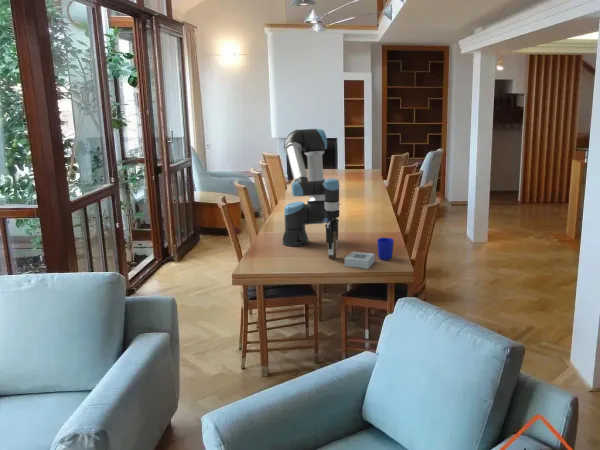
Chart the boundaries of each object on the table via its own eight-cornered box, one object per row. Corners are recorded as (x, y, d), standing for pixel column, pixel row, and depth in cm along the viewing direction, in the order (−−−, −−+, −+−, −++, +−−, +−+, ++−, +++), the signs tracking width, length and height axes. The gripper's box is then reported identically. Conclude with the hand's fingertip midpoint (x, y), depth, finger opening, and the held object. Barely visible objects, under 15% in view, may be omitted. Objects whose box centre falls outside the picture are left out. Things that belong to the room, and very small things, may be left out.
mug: (389, 253, 273) (390, 235, 270) (394, 260, 261) (395, 241, 259) (374, 254, 273) (374, 236, 270) (378, 261, 261) (378, 242, 258)
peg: (327, 258, 267) (327, 232, 263) (330, 256, 270) (329, 230, 267) (334, 259, 265) (334, 233, 262) (337, 257, 269) (337, 231, 265)
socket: (344, 266, 255) (344, 258, 254) (352, 259, 266) (352, 251, 265) (368, 268, 250) (368, 260, 249) (374, 261, 261) (374, 253, 260)
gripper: (333, 213, 252) (333, 259, 258) (344, 206, 267) (344, 249, 273) (318, 212, 255) (319, 257, 261) (330, 205, 270) (331, 248, 276)
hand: (332, 253), depth 267 cm, fingers closed on peg, 4 cm apart
